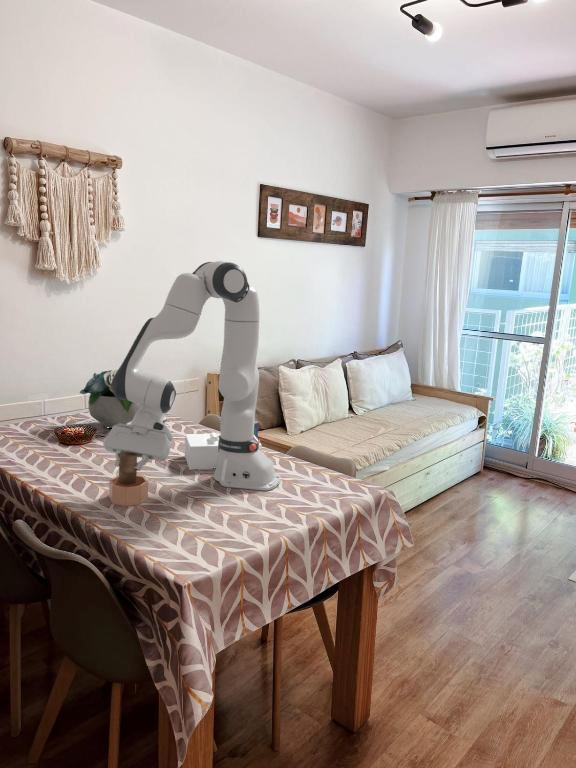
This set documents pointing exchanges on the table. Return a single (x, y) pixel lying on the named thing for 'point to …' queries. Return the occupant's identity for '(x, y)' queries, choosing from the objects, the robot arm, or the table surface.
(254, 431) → the flask
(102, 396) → the flower arrangement
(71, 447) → the table surface
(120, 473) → the peg
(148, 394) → the robot arm
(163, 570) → the table surface
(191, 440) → the tissue box
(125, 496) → the cup
